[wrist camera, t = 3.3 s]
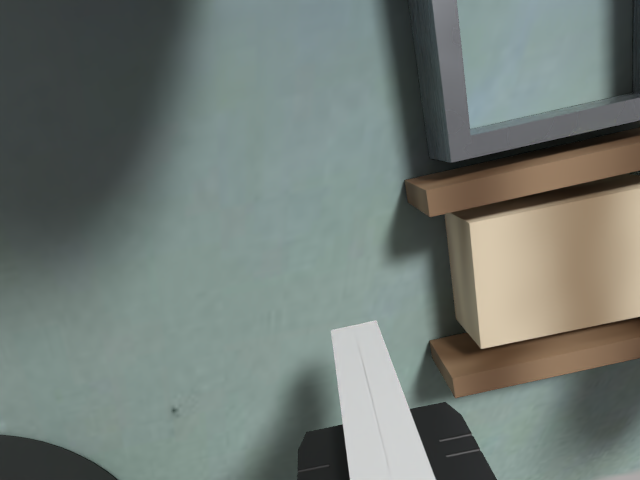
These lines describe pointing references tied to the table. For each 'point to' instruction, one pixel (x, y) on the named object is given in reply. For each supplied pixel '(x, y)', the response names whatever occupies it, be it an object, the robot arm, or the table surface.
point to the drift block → (547, 261)
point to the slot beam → (508, 183)
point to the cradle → (451, 101)
